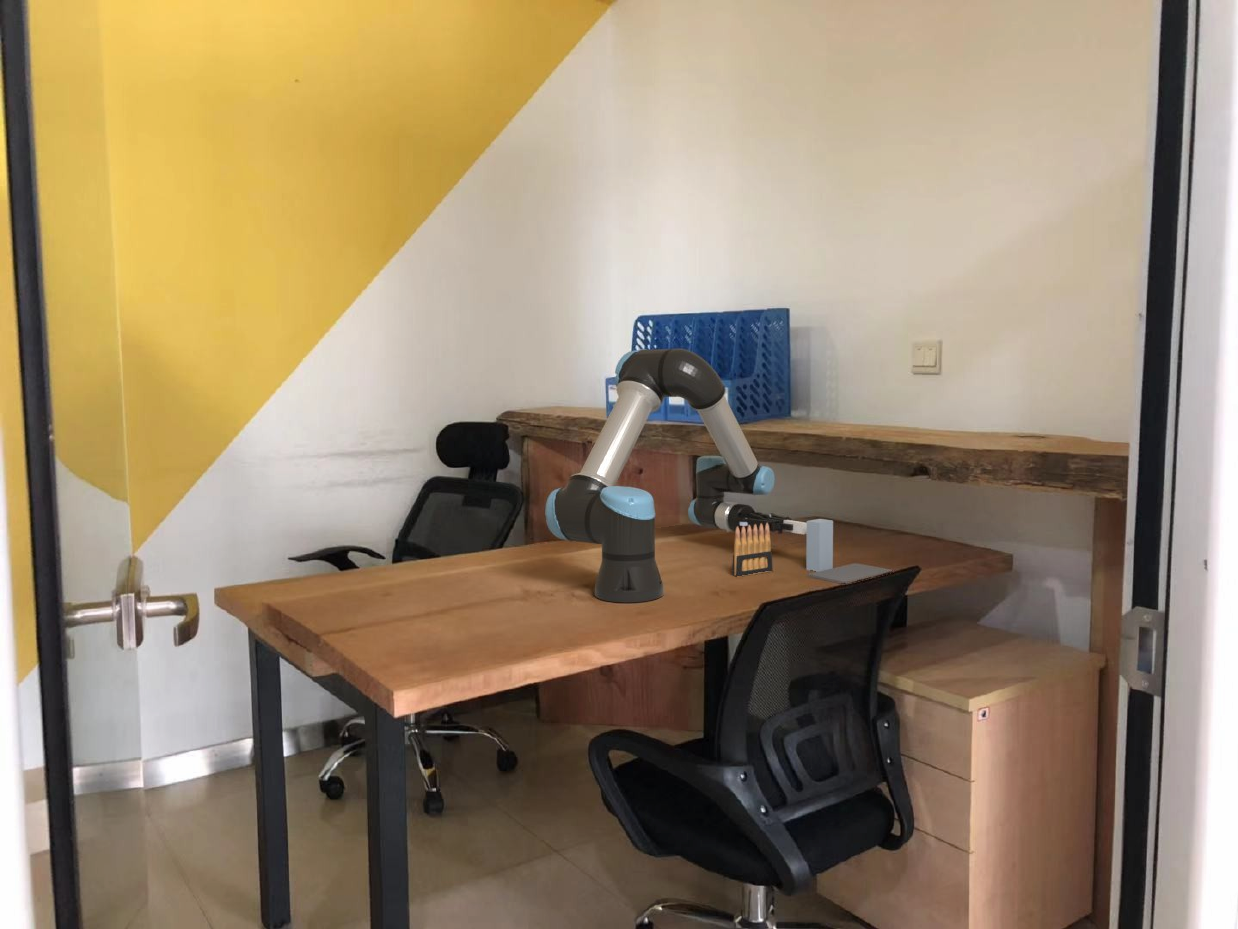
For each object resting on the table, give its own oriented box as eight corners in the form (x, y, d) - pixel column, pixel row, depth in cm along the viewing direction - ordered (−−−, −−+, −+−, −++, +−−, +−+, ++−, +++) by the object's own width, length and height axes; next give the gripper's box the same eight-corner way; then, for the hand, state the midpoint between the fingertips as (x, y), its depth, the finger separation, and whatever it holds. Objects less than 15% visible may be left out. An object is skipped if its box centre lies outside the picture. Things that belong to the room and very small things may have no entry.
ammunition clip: (736, 577, 223) (736, 527, 222) (732, 575, 225) (731, 526, 223) (772, 571, 228) (772, 522, 227) (767, 570, 230) (767, 521, 229)
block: (819, 572, 226) (819, 523, 225) (806, 569, 230) (806, 521, 228) (832, 569, 230) (833, 520, 228) (819, 566, 233) (820, 518, 231)
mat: (845, 584, 214) (845, 582, 214) (807, 576, 222) (807, 574, 222) (893, 572, 225) (893, 570, 225) (855, 565, 233) (855, 563, 233)
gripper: (753, 528, 255) (822, 540, 237) (718, 534, 247) (788, 547, 229) (753, 501, 254) (822, 510, 236) (718, 506, 246) (788, 516, 228)
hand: (805, 528), depth 233 cm, fingers closed
